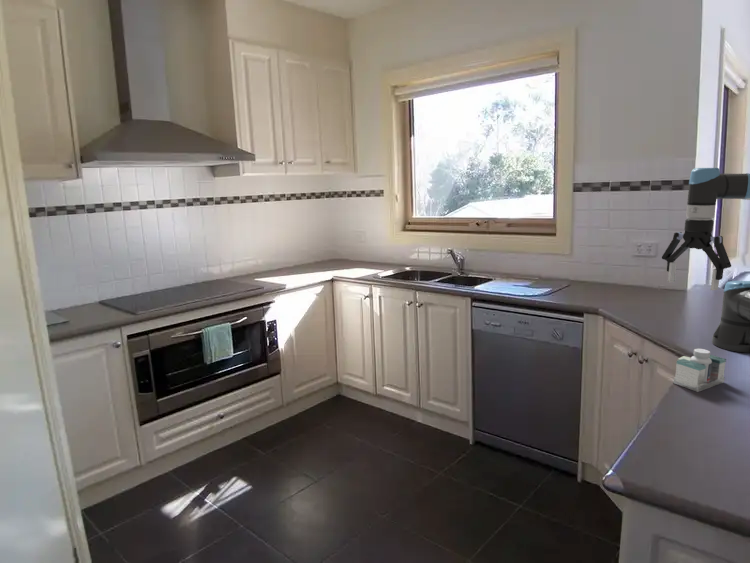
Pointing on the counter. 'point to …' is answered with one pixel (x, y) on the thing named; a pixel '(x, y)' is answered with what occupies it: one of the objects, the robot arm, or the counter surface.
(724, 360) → the teal white block
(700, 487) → the counter surface
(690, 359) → the block
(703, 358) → the pill bottle
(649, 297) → the counter surface
